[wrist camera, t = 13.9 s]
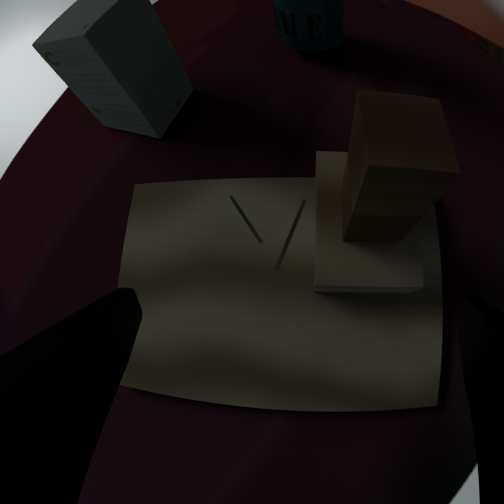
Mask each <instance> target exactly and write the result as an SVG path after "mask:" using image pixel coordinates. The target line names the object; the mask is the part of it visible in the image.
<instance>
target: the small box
mask: <svg viewBox="0 0 504 504" xmlns="http://www.w3.org/2000/svg"><path fill="white" fill-rule="evenodd" d="M32 46H33V47H34V48H35V49H36V51H37V52H38V53H39V54H40V55H41V56H42V58H43V59H44V60H45V61H46V62H47V63H48V64H49V65H50V66H51V67H52V68H53V70H54V71H55V72H56V73H57V74H58V75H59V76H60V78H61V79H62V80H63V81H64V82H65V83H66V84H67V86H68V87H69V88H70V89H71V90H72V91H73V92H74V93H75V94H76V95H77V96H78V98H79V99H80V100H81V101H82V102H83V103H84V104H85V105H86V106H87V107H88V109H89V110H90V111H91V112H92V113H93V114H94V115H95V116H96V117H97V118H98V120H99V121H100V122H101V123H102V124H103V125H104V126H105V127H110V128H115V129H119V130H124V131H128V132H133V133H137V134H142V135H146V136H151V137H155V138H161V137H162V136H163V134H164V133H165V131H166V130H167V128H168V127H169V125H170V124H171V122H172V121H173V119H174V118H175V116H176V115H177V113H178V112H179V110H180V109H181V107H182V106H183V105H184V103H185V102H186V100H187V99H188V97H189V96H190V94H191V93H192V91H193V90H194V88H193V85H192V84H191V81H190V79H189V77H188V75H187V74H186V71H185V69H184V67H183V65H182V63H181V61H180V59H179V57H178V55H177V53H176V51H175V49H174V47H173V45H172V43H171V42H170V40H169V38H168V36H167V33H166V31H165V30H164V28H163V26H162V24H161V22H160V20H159V18H158V16H157V14H156V12H155V10H154V8H153V6H152V4H151V2H150V0H77V1H76V2H75V3H74V4H73V5H72V6H70V7H69V8H68V9H67V10H66V11H65V12H64V13H63V14H62V15H61V16H60V17H59V18H58V19H56V20H55V21H54V22H53V23H52V24H51V25H50V26H49V27H48V28H47V29H46V30H45V31H44V32H43V33H42V35H41V36H40V37H39V38H38V39H37V40H36V41H35V42H34V43H33V45H32Z"/></svg>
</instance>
